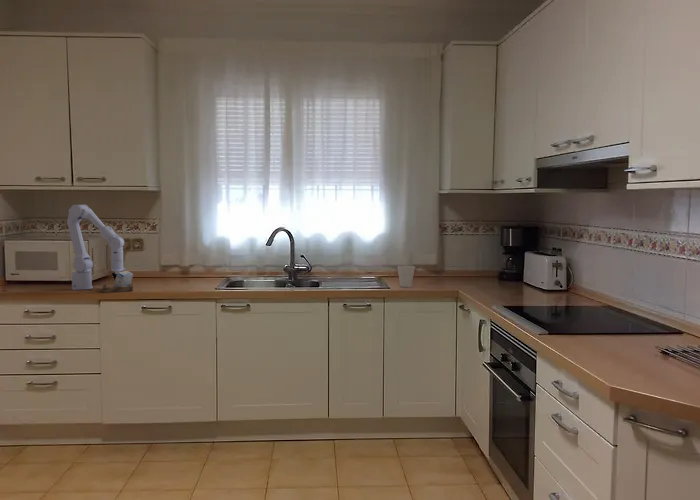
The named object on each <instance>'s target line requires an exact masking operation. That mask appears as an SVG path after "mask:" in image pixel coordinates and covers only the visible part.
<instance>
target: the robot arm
mask: <svg viewBox="0 0 700 500" xmlns="http://www.w3.org/2000/svg"><path fill="white" fill-rule="evenodd" d="M67 216H68V217H67V219H66V220H67V221H66V224H67V228H68V231H69V235H70V238H71V243H72V247H73V250H74V254H75V256H74V258H73V261H74V263H73V269H74V270H75V272H72V273H71V290H73V291H75V290H76V291H78V290H81V291H82V290H92V289H93V288H94V286H93V285H92V284H93V283H92V282H93V279H92V276H93V275H92V269H93V268H94V267H93V266H94V262H93V260H92V259H91V257H90V255H89V254H88V253H87V249H86V246H85V245H86V244H85V241H84V239H83V234H82V230H81V229H82V228H81V226H80V223H81V221H82V220H83V219H85V220H86V219H87V220H89V222H91V223H92V224H93V225H94V226H95V227H96V228H97V229H98V230H99V234H100V235H101V236H102V237H103V239H105V240H106V241H107V242H108V245H109V247H110V248H111V251H110V253H111V269H110V270H111V271H112V273H111V275H112V276H113V280H114V281H115V279H116V275H117V274H119V272H123V271H127V268H126V267H125V268H124V246H125V239H124V238H123V237H122V236H119V234H117V233H116V231H114V230H113V227H112V226H109V225H105V224H104V223H103V221H102V220H101V219H100V218H99V217H98V216H97V214H96V213H94V211H93V209H91V208H90V207H89V205H87V204H85V203H84V204H73V205H71V207H70V208H69V209H68V215H67Z"/></svg>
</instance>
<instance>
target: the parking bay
mask: <svg viewBox="0 0 700 500" xmlns="http://www.w3.org/2000/svg"><path fill="white" fill-rule="evenodd" d="M133 290H134V283H131V284H130V286H125V287H113V286H109V287H108V286H107V284H103V286H102V287H101V292H102V293H103V294H104V293H127V292H129V293H130V292H133Z"/></svg>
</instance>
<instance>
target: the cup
mask: <svg viewBox="0 0 700 500" xmlns="http://www.w3.org/2000/svg"><path fill="white" fill-rule="evenodd" d="M396 268H397V273H398V279H399V285H400V288H412V285H413V281H414V280H413V279H414V273H415V269H416V266H414V265H398V266H396Z"/></svg>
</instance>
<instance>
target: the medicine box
mask: <svg viewBox="0 0 700 500" xmlns="http://www.w3.org/2000/svg"><path fill="white" fill-rule="evenodd" d="M133 277H134V273H133V272H131V271H128V270H122V271H120V272H119V274H117V275H116V279H115V280H114V283H113V286H112V287H125V286H130V284H132V280H133Z"/></svg>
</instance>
